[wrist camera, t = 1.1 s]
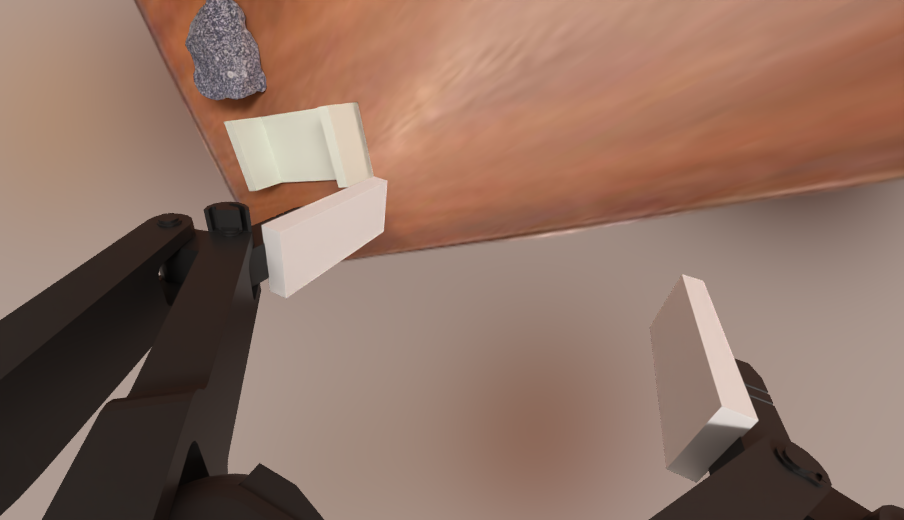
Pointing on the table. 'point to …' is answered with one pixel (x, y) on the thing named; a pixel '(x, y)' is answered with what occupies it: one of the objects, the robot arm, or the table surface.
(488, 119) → the table surface
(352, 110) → the u rest
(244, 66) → the rock
